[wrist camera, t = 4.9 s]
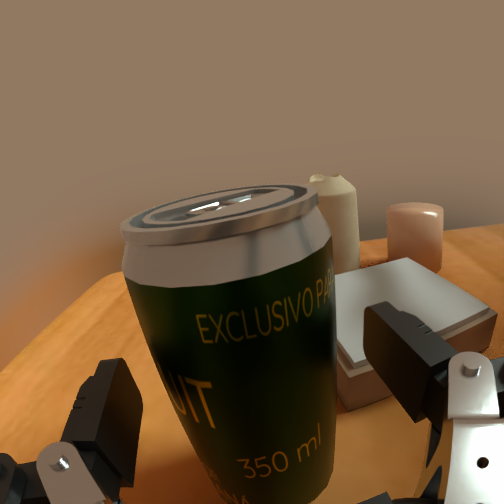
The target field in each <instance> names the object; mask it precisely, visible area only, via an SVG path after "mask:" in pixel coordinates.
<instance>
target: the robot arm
mask: <svg viewBox="0 0 504 504" xmlns="http://www.w3.org/2000/svg"><path fill="white" fill-rule="evenodd" d="M363 350H364V354H365V357H366V359H367V361H368V362H369V363H370V365H371V366H372V367H373V369H374V370H375V371H376V373H377V374H378V375H379V376H380V378H381V379H382V380H383V382H384V383H385V384H386V386H387V387H388V388H389V389H390V391H391V392H392V393H393V395H394V396H395V397H396V399H397V400H398V401H399V403H400V404H401V405H402V407H403V408H404V409H405V411H406V412H407V413H408V415H409V416H410V417H411V419H412V420H413V421H414V423H417V422H419V421H421V420H423V419H425V418H428V419H429V420H430V421H431V422H430V425H429V429H428V437H427V444H426V450H425V457H424V462H423V468H422V473H421V477H420V480H419V483H418V485H417V488H416V491H415V494H414V497H413V498H401V499H394V500H391V499H390V497H389V495H388V493H387V492H385V493H382V494H380V495H378V496H375V497H373V498H370V499H368V500H365V501H363V502H360V503H358V504H504V357H501V358H497V359H493V360H489V359H488V358H487V357H485V356H484V355H482V354H480V353H477V352H461V353H459V352H458V351H457V350H455V349H454V348H453V347H452V346H451V345H450V344H449V343H447V342H446V341H445V340H444V339H443V338H442V337H440V336H439V335H438V334H437V333H436V332H433V331H432V329H431V328H430V327H429V326H427V325H425V323H424V322H423V321H421V320H420V319H419V318H418V317H417V316H415V315H413V314H410V313H408V312H405V311H398V310H397V309H396V308H395V307H394V306H393V305H391V304H390V303H389V302H387V301H384V302H381V303H377V304H374V305H371V306H367V307H366V308H365V310H364V324H363ZM142 412H143V402H142V397H141V394H140V391H139V389H138V387H137V385H136V383H135V381H134V379H133V377H132V375H131V373H130V370H129V368H128V366H127V364H126V362H125V360H124V359H123V358H116V359H108V360H101V361H100V362H99V364H98V367H97V369H96V372H95V374H94V376H90V377H89V378H88V379H87V380H86V381H85V382H84V383H83V384H82V386H81V387H80V389H79V392H78V394H77V397H76V400H75V402H74V404H73V409H72V410H71V412H70V415H69V417H68V420H67V423H66V426H65V428H64V431H63V434H62V437H61V440H60V442H56V443H52V444H50V445H48V446H47V447H45V448H44V449H43V450H42V451H41V453H40V454H39V456H38V458H37V461H34V462H29V463H24V464H17V463H16V462H15V461H14V460H13V458H12V457H11V456H9V455H8V454H5V453H0V504H126V503H125V502H124V501H123V499H122V498H121V497H120V496H119V492H120V487H133V485H134V475H135V465H136V457H137V448H138V441H139V433H140V426H141V419H142Z"/></svg>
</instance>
